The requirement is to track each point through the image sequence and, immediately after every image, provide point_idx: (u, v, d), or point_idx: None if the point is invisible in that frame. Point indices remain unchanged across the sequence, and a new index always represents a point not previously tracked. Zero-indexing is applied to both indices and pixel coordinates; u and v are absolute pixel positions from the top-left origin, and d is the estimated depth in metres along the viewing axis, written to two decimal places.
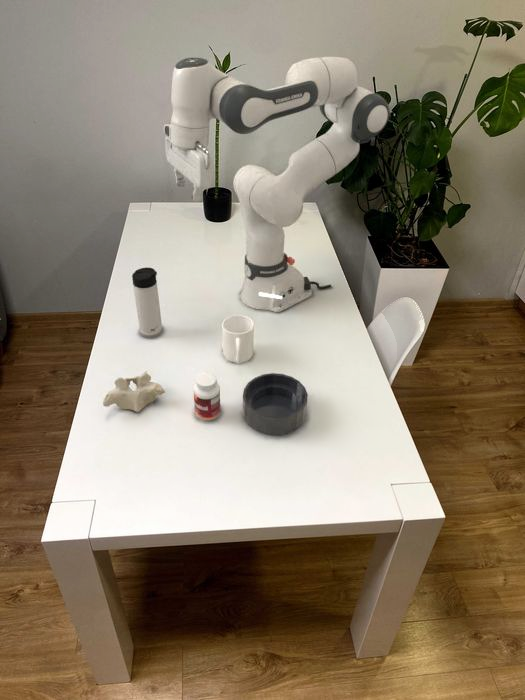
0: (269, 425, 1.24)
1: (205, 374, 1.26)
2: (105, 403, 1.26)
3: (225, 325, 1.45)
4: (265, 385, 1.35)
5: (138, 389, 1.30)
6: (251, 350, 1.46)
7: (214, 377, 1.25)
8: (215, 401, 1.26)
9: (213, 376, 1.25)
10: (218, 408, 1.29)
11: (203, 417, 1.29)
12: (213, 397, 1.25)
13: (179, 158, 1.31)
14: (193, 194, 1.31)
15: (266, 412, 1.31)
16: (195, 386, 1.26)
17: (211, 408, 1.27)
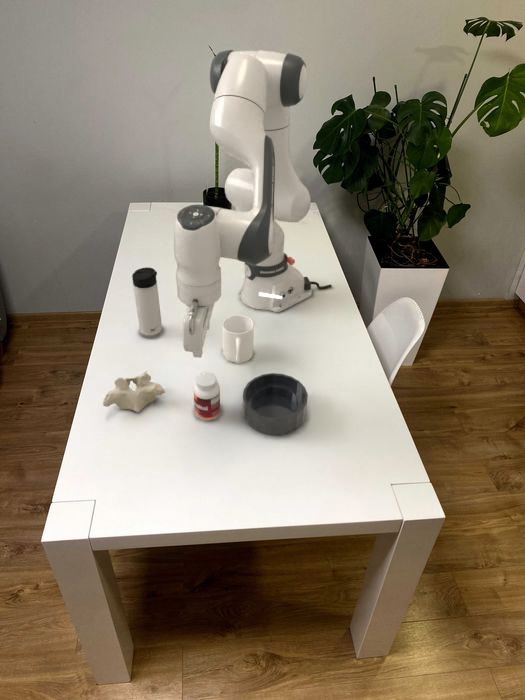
0: (269, 425, 1.24)
1: (205, 374, 1.26)
2: (105, 403, 1.26)
3: (225, 325, 1.45)
4: (265, 385, 1.35)
5: (138, 389, 1.30)
6: (251, 350, 1.46)
7: (214, 377, 1.25)
8: (215, 401, 1.26)
9: (213, 376, 1.25)
10: (218, 408, 1.29)
11: (203, 417, 1.29)
12: (213, 397, 1.25)
13: None
14: None
15: (266, 412, 1.31)
16: (195, 386, 1.26)
17: (211, 408, 1.27)
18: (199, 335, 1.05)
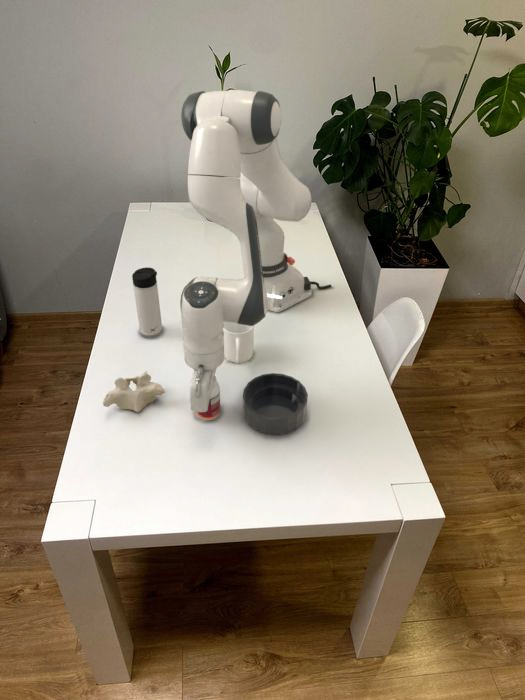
0: (269, 425, 1.24)
1: None
2: (105, 403, 1.26)
3: (225, 325, 1.45)
4: (265, 385, 1.35)
5: (138, 389, 1.30)
6: (251, 350, 1.46)
7: (214, 377, 1.25)
8: (215, 401, 1.26)
9: None
10: (218, 408, 1.29)
11: (203, 417, 1.29)
12: (213, 397, 1.25)
13: None
14: None
15: (266, 412, 1.31)
16: None
17: (211, 408, 1.27)
18: (205, 398, 1.15)
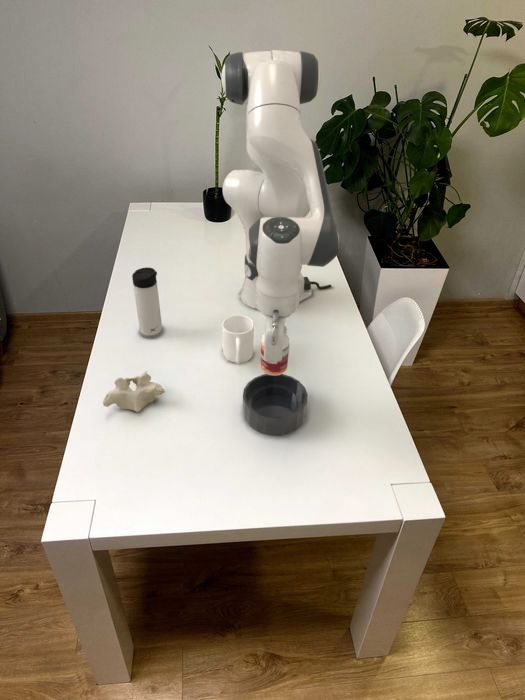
0: (269, 425, 1.24)
1: None
2: (105, 403, 1.26)
3: (225, 325, 1.45)
4: (265, 385, 1.35)
5: (138, 389, 1.30)
6: (251, 350, 1.46)
7: (284, 327, 1.16)
8: (284, 354, 1.17)
9: None
10: (286, 362, 1.20)
11: (270, 372, 1.20)
12: (283, 348, 1.16)
13: None
14: None
15: (266, 412, 1.31)
16: (263, 337, 1.17)
17: (280, 362, 1.18)
18: (281, 345, 1.06)
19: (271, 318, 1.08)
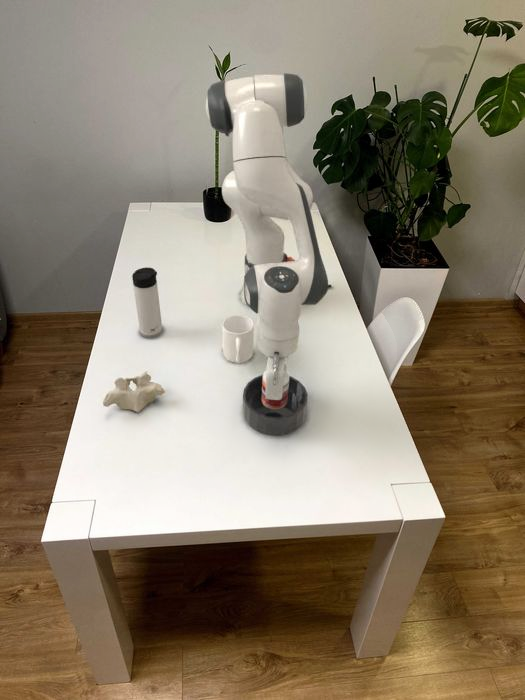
0: (269, 425, 1.24)
1: None
2: (105, 403, 1.26)
3: (225, 325, 1.45)
4: None
5: (138, 389, 1.30)
6: (251, 350, 1.46)
7: None
8: (285, 390, 1.24)
9: None
10: (286, 397, 1.27)
11: (271, 406, 1.27)
12: (284, 385, 1.23)
13: None
14: None
15: (266, 412, 1.31)
16: (265, 374, 1.24)
17: None
18: (281, 385, 1.13)
19: (272, 359, 1.15)
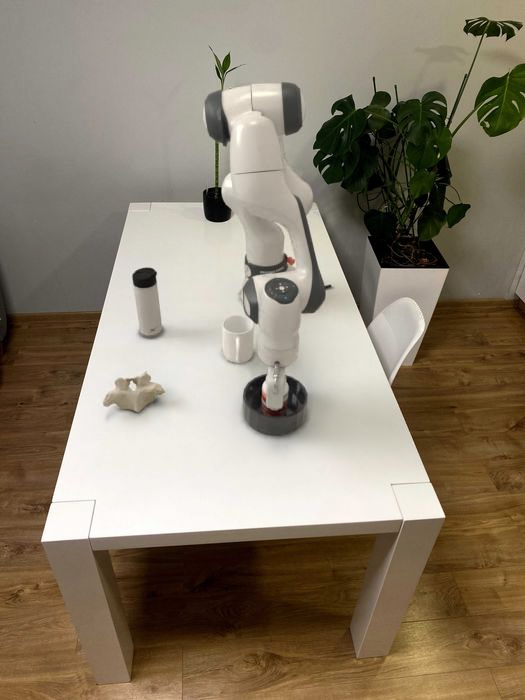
0: (269, 425, 1.24)
1: None
2: (105, 403, 1.26)
3: (225, 325, 1.45)
4: None
5: (138, 389, 1.30)
6: (251, 350, 1.46)
7: None
8: (284, 400, 1.26)
9: None
10: (286, 407, 1.29)
11: (271, 416, 1.29)
12: (283, 395, 1.25)
13: None
14: None
15: None
16: (264, 385, 1.26)
17: None
18: (282, 394, 1.15)
19: (272, 368, 1.17)
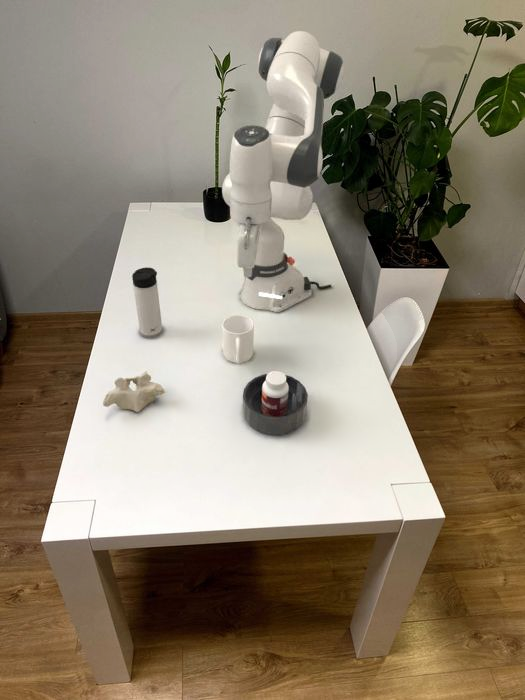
0: (269, 425, 1.24)
1: (274, 373, 1.26)
2: (105, 403, 1.26)
3: (225, 325, 1.45)
4: None
5: (138, 389, 1.30)
6: (251, 350, 1.46)
7: (284, 376, 1.25)
8: (284, 400, 1.26)
9: (283, 375, 1.25)
10: (286, 407, 1.29)
11: (271, 416, 1.29)
12: (283, 395, 1.25)
13: None
14: (243, 269, 1.20)
15: None
16: (264, 385, 1.26)
17: (280, 407, 1.27)
18: (253, 250, 1.12)
19: (244, 225, 1.14)
